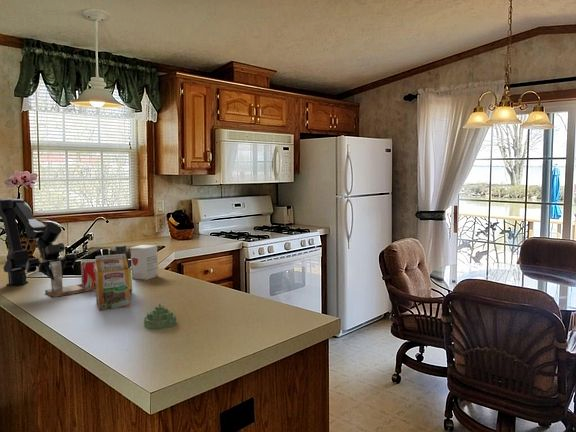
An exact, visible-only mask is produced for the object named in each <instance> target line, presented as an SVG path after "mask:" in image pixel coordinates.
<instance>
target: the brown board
mask: <svg viewBox="0 0 576 432" xmlns="http://www.w3.org/2000/svg"><path fill="white" fill-rule="evenodd" d="M49 267H50V270H51V272H52V274H53V277H54V280H52V279H50V285H51V287H50V289H48V288H47V289H45V290H44V292H45V294H47V295H49V296H51V297H53V298H57V297H61V296H68V295H73V294H79V293H83V292H89V291H94V290H95V291H96V286H94V287H89V288H83V287H82V283H79V284H74V285H73V284H72V285H67V286H63V278H62V269H61V262H59V261H53V262H50V265H49Z"/></svg>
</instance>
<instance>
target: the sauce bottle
mask: <svg viewBox="0 0 576 432" xmlns="http://www.w3.org/2000/svg"><path fill="white" fill-rule="evenodd" d="M115 252H116V255H117V254H125V255H126V260H127V264H128V271H129V293H130V294H133V293H132V292H133V280H132V279H133V278H132V272H131V262H130V261H129V258H128V256H127V255H128V254H127V245H125V244H121V245H119V244H118V245H115Z"/></svg>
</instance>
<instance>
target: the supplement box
mask: <svg viewBox="0 0 576 432" xmlns="http://www.w3.org/2000/svg"><path fill="white" fill-rule="evenodd" d="M130 266H131V278H132V279H135V280H143V281H144V280H146V281H147V280H150V279H154V278H156V277H158V276H159V265H158V245H153V244H151V245H150V244H139V245H135V246H131V247H130Z"/></svg>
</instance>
